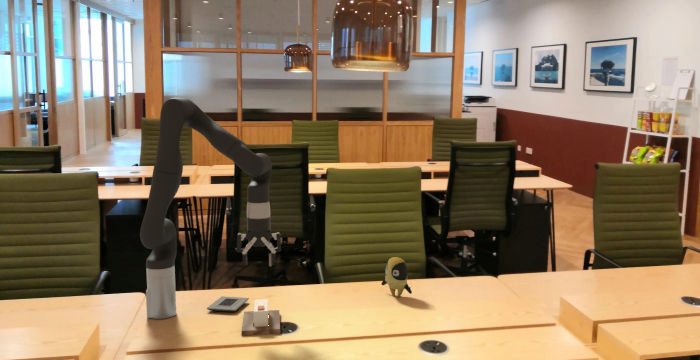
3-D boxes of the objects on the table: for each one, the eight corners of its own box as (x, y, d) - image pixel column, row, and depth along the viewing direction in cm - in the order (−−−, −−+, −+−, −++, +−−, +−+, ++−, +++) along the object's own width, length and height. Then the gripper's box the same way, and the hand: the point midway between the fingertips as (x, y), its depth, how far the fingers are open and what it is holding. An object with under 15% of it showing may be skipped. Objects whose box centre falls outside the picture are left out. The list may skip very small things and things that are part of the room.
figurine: (403, 303, 218) (404, 263, 216) (373, 293, 230) (373, 255, 228) (419, 298, 224) (419, 259, 222) (388, 289, 235) (389, 251, 234)
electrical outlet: (235, 315, 208) (235, 308, 207) (206, 313, 210) (206, 307, 209) (248, 303, 220) (248, 297, 220) (221, 301, 222) (221, 295, 222)
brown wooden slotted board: (241, 335, 188) (241, 330, 188) (244, 315, 206) (244, 311, 206) (280, 333, 190) (280, 328, 190) (279, 314, 207) (279, 310, 207)
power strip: (254, 331, 192) (253, 310, 191) (255, 318, 204) (254, 298, 203) (268, 330, 192) (267, 309, 191) (268, 317, 204) (267, 297, 203)
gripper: (235, 218, 189) (236, 268, 191) (281, 217, 191) (281, 266, 193) (236, 213, 197) (237, 262, 199) (280, 213, 198) (281, 261, 200)
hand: (259, 264), depth 196 cm, fingers open, 8 cm apart
